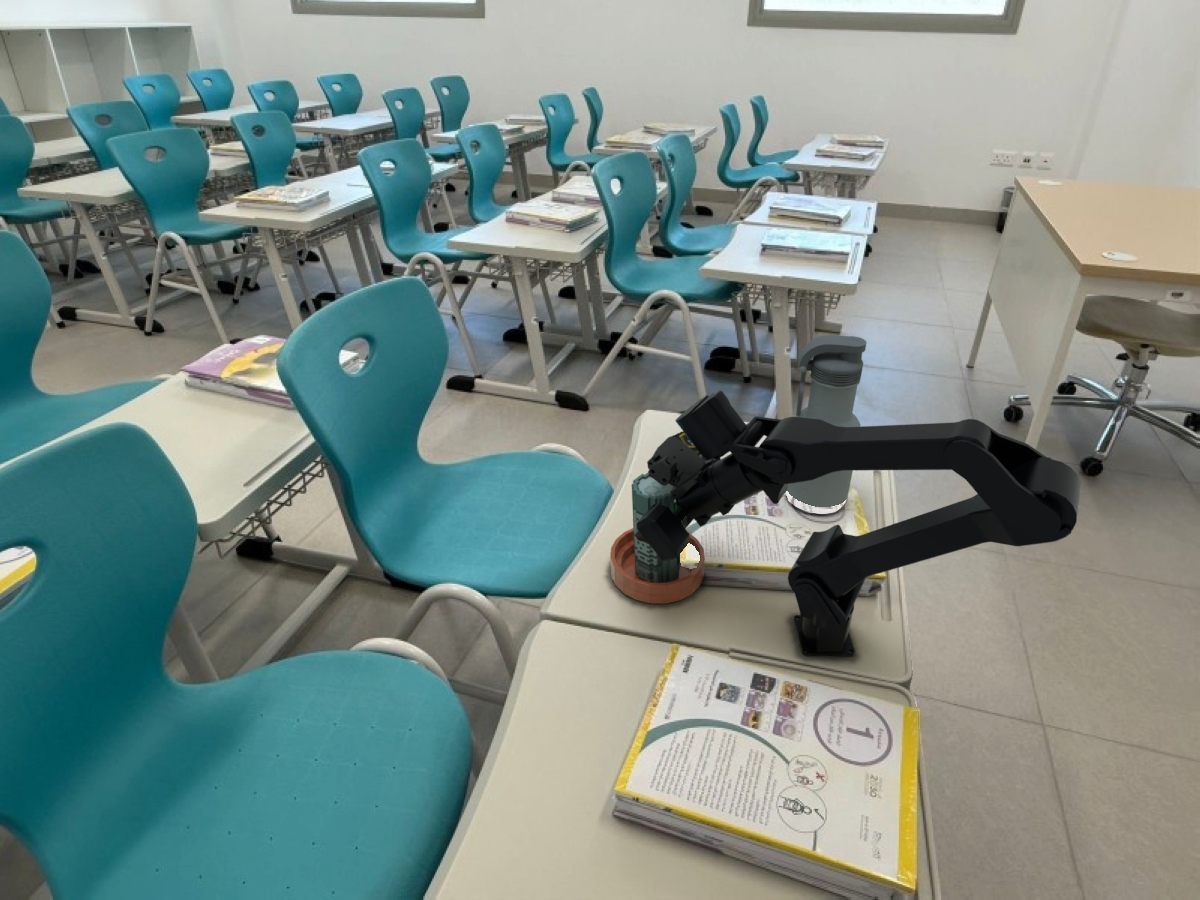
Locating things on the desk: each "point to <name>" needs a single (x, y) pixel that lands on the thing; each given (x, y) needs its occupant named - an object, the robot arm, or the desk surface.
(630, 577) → the bowl
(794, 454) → the robot arm
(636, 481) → the can
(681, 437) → the tape measure
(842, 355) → the water bottle
